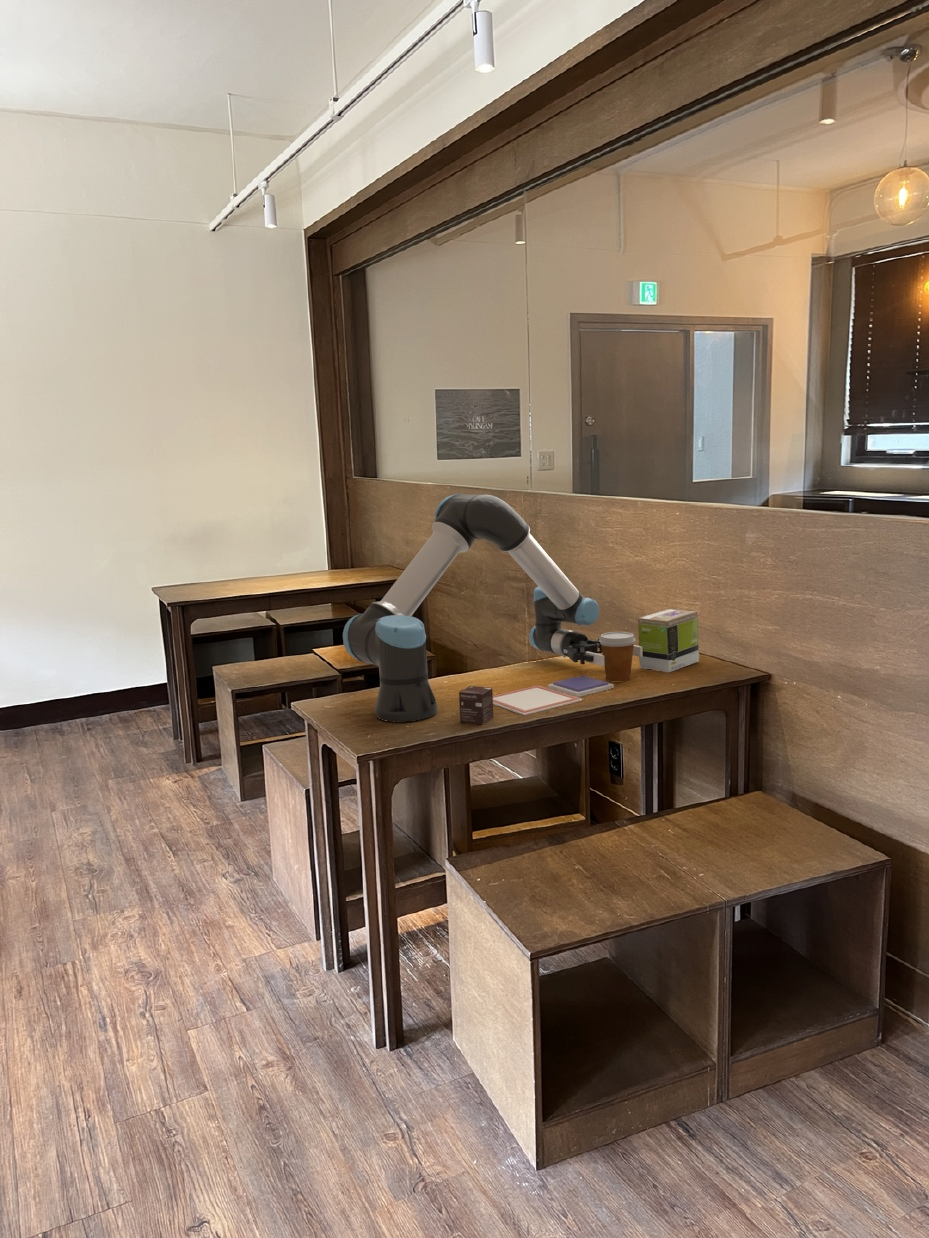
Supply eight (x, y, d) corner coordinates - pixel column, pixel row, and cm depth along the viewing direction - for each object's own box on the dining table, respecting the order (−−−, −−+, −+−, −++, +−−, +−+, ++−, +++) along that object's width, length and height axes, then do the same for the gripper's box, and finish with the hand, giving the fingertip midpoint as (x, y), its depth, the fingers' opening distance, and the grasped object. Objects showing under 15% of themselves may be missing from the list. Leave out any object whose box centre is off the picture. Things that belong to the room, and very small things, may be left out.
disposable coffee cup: (620, 685, 228) (619, 640, 226) (592, 680, 235) (591, 636, 233) (643, 678, 234) (642, 634, 232) (615, 672, 241) (614, 630, 239)
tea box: (669, 658, 255) (668, 607, 252) (699, 662, 247) (699, 611, 245) (638, 668, 245) (637, 616, 242) (668, 673, 238) (667, 620, 235)
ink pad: (577, 697, 220) (577, 691, 220) (548, 688, 230) (547, 682, 230) (613, 688, 226) (613, 682, 226) (583, 679, 236) (583, 673, 236)
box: (459, 722, 205) (457, 692, 204) (471, 715, 210) (469, 685, 209) (482, 724, 202) (481, 694, 201) (494, 717, 207) (492, 687, 206)
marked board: (524, 715, 207) (523, 713, 207) (481, 700, 222) (481, 697, 222) (582, 700, 217) (582, 698, 217) (538, 686, 232) (537, 684, 232)
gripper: (603, 649, 257) (656, 661, 240) (536, 664, 244) (587, 678, 227) (603, 624, 256) (656, 634, 238) (535, 638, 243) (586, 650, 225)
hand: (622, 656), depth 232 cm, fingers open, 13 cm apart
